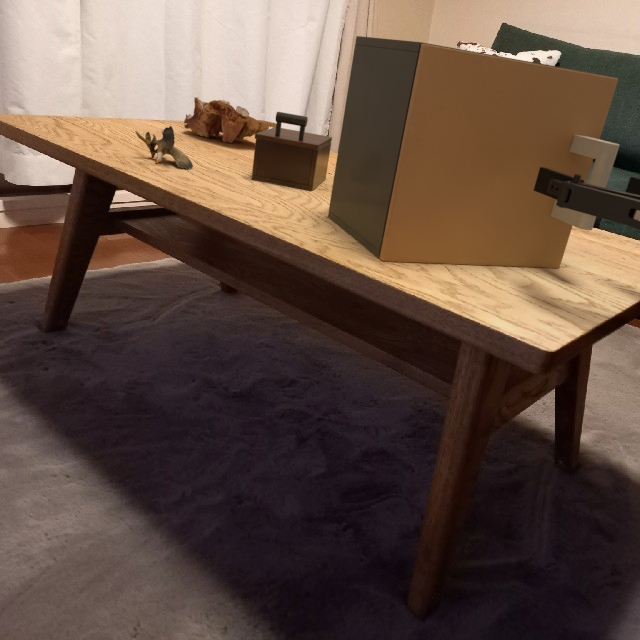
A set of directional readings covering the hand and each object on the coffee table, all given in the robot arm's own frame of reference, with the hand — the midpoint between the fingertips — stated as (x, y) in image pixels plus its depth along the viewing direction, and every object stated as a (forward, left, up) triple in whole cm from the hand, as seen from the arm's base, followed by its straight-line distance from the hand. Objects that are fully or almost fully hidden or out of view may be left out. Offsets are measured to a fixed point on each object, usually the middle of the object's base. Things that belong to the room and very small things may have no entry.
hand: (585, 183), depth 76 cm
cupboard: (+17, -1, -12) cm, 21 cm away
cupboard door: (+7, +7, -12) cm, 15 cm away
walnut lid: (+50, -14, -5) cm, 52 cm away
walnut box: (+50, -14, -12) cm, 53 cm away
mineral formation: (+80, -34, -12) cm, 88 cm away
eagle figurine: (+67, -1, -12) cm, 68 cm away
